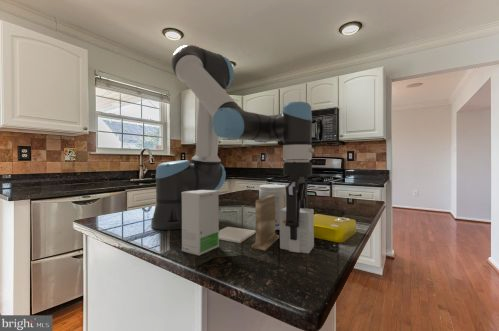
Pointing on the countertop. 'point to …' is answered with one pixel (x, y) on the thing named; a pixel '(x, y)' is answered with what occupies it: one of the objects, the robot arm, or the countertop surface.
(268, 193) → the supplement tub
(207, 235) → the skincare box
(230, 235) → the cream pad
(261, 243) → the oak screen
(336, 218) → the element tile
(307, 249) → the small box
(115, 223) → the countertop surface
